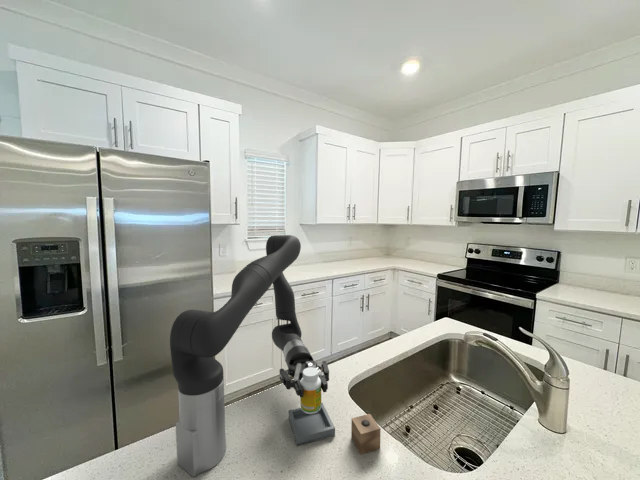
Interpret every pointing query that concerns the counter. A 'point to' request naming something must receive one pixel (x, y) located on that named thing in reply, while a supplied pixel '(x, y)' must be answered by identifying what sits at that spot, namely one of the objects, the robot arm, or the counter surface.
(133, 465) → the counter surface
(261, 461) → the counter surface
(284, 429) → the counter surface
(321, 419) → the tray
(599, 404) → the counter surface
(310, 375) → the supplement bottle
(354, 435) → the wooden block with knob
